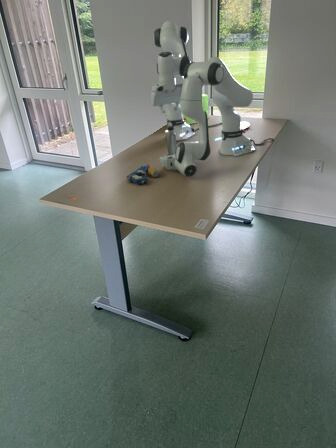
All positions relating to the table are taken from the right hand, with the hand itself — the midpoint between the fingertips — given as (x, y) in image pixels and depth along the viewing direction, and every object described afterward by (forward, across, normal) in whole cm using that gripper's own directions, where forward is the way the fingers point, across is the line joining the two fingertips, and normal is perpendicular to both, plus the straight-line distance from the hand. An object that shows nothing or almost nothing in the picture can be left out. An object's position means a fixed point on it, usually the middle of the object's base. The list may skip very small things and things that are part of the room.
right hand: (172, 154), depth 203 cm
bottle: (-1, 0, +5) cm, 5 cm away
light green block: (+88, -46, +6) cm, 100 cm away
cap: (-1, 0, -17) cm, 17 cm away
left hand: (-1, 0, -26) cm, 26 cm away
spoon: (+35, -66, +5) cm, 75 cm away
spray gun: (-14, +22, +5) cm, 27 cm away
